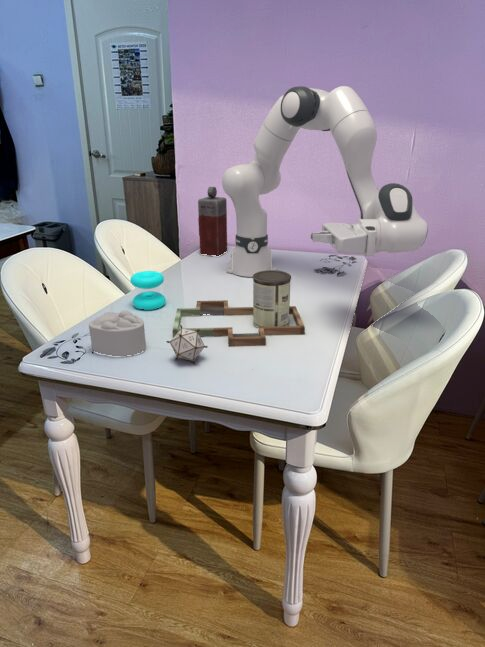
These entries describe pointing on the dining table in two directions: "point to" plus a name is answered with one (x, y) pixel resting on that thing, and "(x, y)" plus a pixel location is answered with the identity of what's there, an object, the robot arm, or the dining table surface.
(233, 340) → the brown wooden frame
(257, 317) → the coffee can
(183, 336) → the game die
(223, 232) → the red grey square bottle
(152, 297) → the donuts
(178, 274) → the dining table surface
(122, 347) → the lumpy-topped squat cylinder
